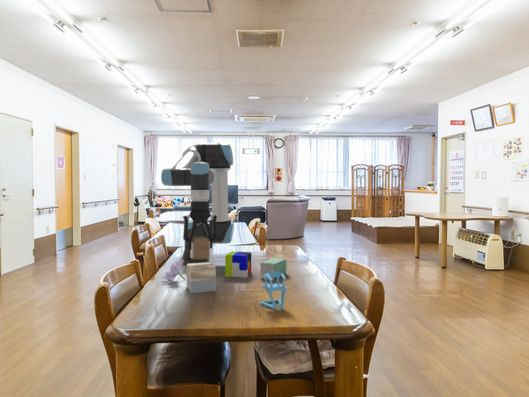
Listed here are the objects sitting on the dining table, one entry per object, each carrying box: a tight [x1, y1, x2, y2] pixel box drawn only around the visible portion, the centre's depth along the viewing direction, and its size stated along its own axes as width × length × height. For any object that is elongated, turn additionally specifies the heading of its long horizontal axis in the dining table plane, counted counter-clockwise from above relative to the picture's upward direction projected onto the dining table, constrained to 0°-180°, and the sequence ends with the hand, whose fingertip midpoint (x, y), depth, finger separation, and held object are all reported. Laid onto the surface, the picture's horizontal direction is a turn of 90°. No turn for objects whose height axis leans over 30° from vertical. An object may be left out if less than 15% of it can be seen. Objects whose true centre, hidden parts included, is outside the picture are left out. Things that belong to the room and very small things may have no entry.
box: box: [260, 257, 287, 281], centre depth 177 cm, size 7×14×8 cm, turn 153°
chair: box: [259, 271, 288, 311], centre depth 133 cm, size 8×8×12 cm
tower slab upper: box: [186, 261, 217, 281], centre depth 155 cm, size 10×10×5 cm
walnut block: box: [192, 237, 210, 260], centre depth 154 cm, size 6×6×8 cm
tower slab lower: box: [186, 276, 217, 294], centre depth 155 cm, size 10×10×5 cm
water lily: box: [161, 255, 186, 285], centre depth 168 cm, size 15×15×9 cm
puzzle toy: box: [224, 251, 252, 278], centre depth 180 cm, size 10×10×10 cm
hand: (200, 257), depth 154 cm, fingers closed on walnut block, 6 cm apart
